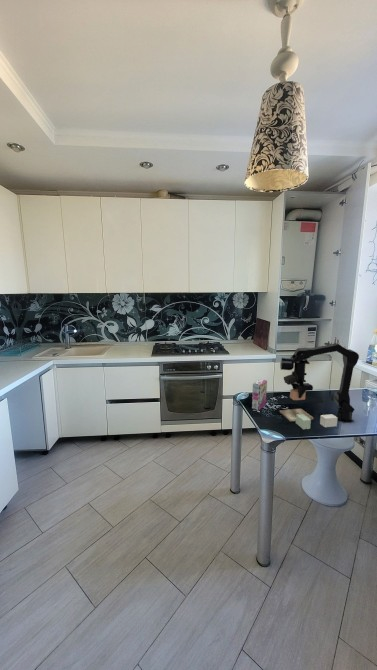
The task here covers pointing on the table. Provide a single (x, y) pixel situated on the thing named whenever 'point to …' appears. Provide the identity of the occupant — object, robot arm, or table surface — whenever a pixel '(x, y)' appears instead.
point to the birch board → (294, 414)
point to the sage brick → (303, 421)
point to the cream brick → (328, 420)
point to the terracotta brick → (296, 395)
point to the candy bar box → (259, 394)
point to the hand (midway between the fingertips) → (297, 396)
